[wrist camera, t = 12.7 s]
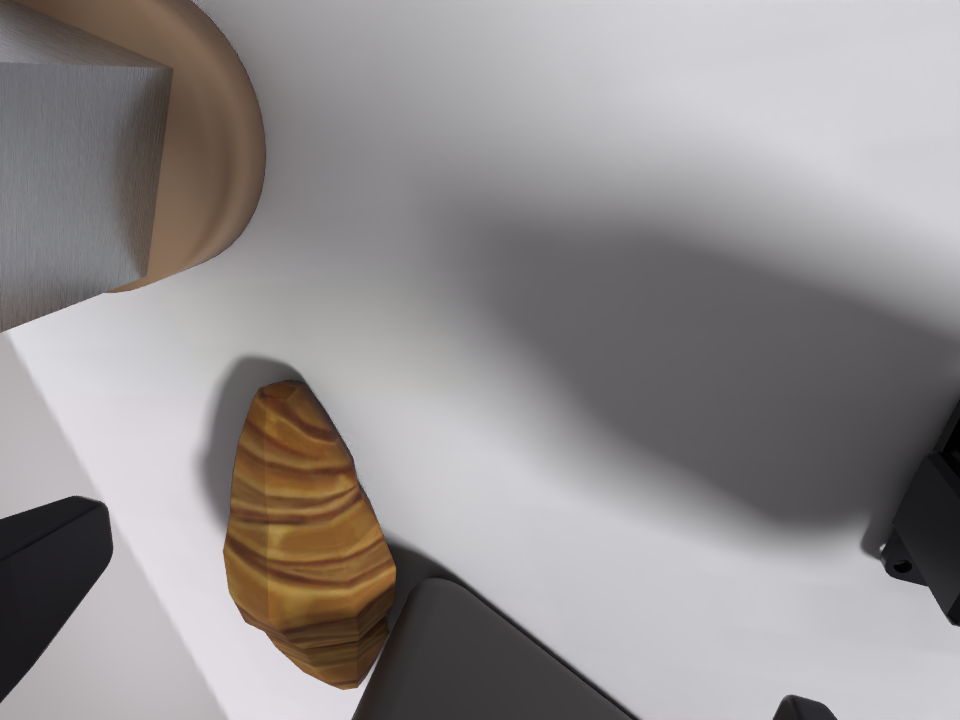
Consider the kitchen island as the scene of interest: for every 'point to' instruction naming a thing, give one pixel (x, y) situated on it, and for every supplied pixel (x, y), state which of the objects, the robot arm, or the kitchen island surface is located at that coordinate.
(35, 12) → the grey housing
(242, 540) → the croissant
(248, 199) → the walnut stand
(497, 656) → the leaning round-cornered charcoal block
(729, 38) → the kitchen island surface
